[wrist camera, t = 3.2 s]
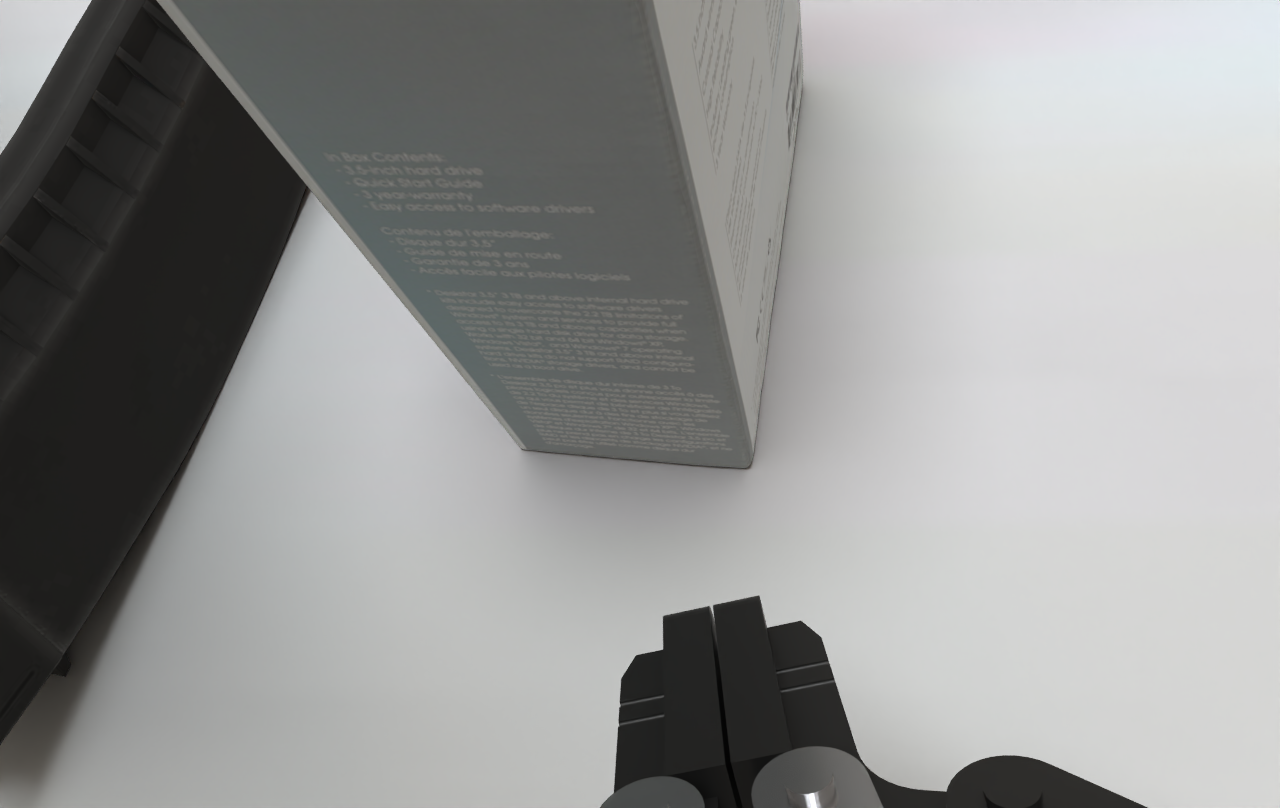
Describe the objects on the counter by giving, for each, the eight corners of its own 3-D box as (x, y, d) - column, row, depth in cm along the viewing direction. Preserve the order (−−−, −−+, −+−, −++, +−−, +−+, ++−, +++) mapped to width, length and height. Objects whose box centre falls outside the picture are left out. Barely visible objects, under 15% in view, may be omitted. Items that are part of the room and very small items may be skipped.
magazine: (214, -215, 32) (-957, 366, 13) (292, -222, 31) (-836, 387, 12) (375, 193, 44) (-97, 804, 25) (434, 196, 44) (-7, 830, 24)
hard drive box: (602, 85, 34) (359, -722, 17) (805, 80, 32) (769, -834, 15) (510, 459, 28) (-45, -227, 10) (758, 480, 26) (597, -318, 8)
